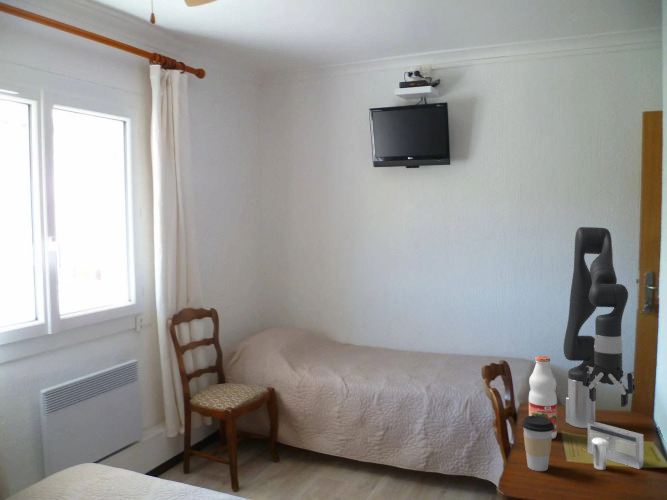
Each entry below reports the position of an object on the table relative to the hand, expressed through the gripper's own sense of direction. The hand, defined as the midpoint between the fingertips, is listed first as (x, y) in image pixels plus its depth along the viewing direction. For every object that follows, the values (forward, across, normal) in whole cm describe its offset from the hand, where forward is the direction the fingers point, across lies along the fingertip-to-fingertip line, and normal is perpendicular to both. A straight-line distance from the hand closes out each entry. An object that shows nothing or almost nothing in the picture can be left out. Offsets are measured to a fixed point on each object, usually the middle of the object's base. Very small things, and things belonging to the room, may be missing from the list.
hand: (608, 403), depth 169 cm
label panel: (+21, +2, -11) cm, 24 cm away
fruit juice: (+20, +27, -16) cm, 38 cm away
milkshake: (+21, +3, -2) cm, 21 cm away
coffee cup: (+21, +17, +10) cm, 29 cm away
